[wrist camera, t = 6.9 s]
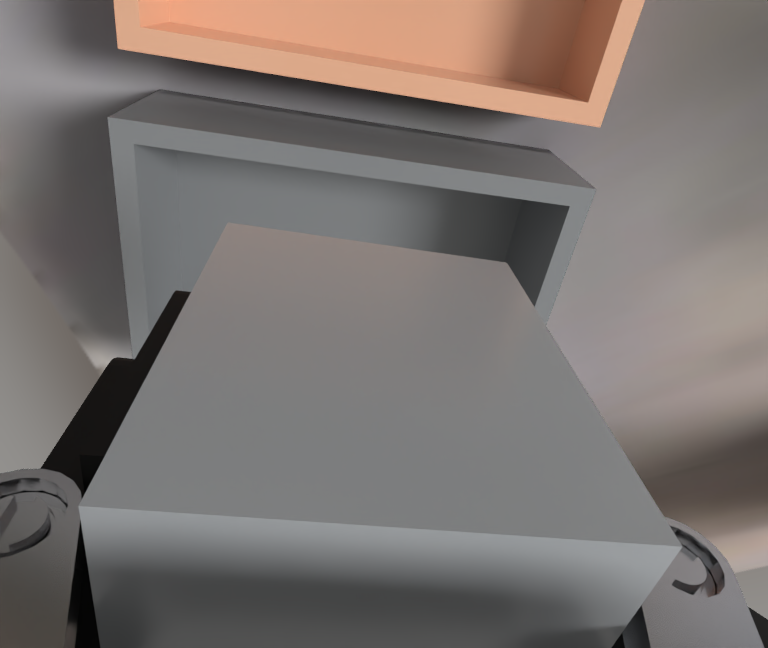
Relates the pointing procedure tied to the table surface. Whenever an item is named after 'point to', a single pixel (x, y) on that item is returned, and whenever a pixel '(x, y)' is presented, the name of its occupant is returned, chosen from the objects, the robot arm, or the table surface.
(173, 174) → the bin
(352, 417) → the block
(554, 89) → the trough
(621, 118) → the table surface
